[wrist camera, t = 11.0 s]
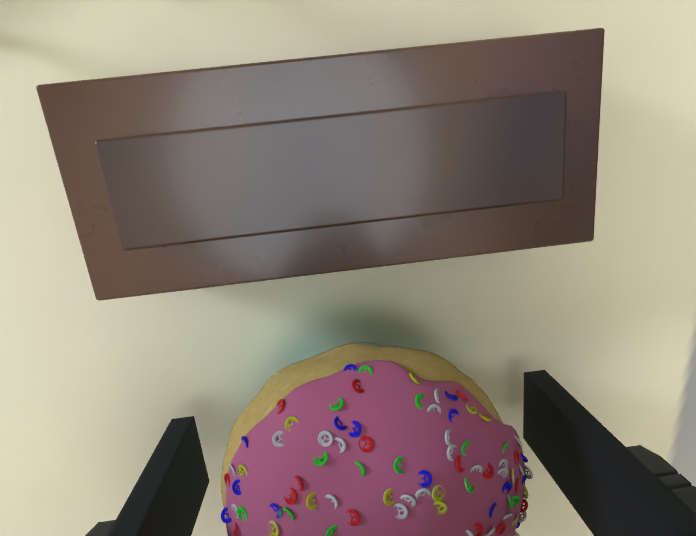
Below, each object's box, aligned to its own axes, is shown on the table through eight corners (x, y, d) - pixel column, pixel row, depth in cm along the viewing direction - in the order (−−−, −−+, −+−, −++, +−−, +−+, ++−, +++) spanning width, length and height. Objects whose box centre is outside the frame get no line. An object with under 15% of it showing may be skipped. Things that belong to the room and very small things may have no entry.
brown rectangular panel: (540, 55, 14) (635, 13, 9) (538, 223, 15) (618, 249, 11) (101, 101, 13) (2, 76, 9) (143, 270, 14) (74, 315, 10)
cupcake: (487, 311, 16) (953, 746, 4) (442, 497, 18) (668, 1123, 6) (257, 285, 15) (41, 739, 3) (238, 483, 17) (68, 1178, 5)
